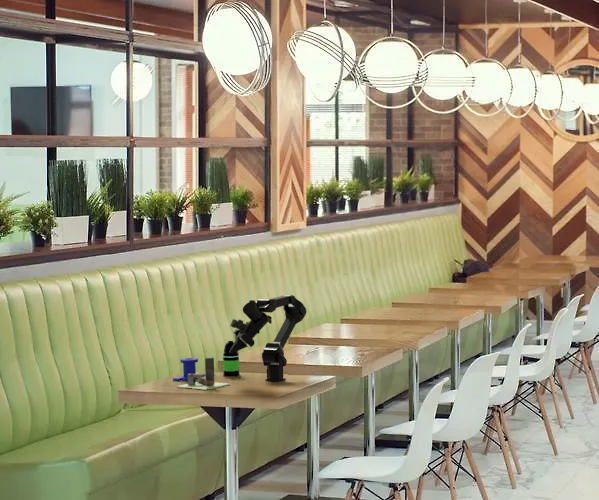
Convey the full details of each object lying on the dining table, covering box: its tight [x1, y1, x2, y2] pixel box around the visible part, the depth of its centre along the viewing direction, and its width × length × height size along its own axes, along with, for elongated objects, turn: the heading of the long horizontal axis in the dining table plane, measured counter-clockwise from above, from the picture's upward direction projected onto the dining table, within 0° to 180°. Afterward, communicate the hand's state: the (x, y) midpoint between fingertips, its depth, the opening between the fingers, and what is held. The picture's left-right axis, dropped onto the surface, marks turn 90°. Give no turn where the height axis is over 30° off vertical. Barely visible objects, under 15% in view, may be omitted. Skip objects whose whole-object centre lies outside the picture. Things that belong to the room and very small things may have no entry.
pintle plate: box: [176, 381, 231, 391], centre depth 505 cm, size 16×15×1 cm
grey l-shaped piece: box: [196, 356, 215, 385], centre depth 507 cm, size 14×4×11 cm, turn 23°
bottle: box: [222, 340, 241, 377], centre depth 533 cm, size 7×7×15 cm
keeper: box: [187, 373, 205, 385], centre depth 506 cm, size 3×6×5 cm, turn 78°
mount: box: [172, 357, 206, 382], centre depth 526 cm, size 15×8×9 cm, turn 153°
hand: (230, 353), depth 504 cm, fingers closed
